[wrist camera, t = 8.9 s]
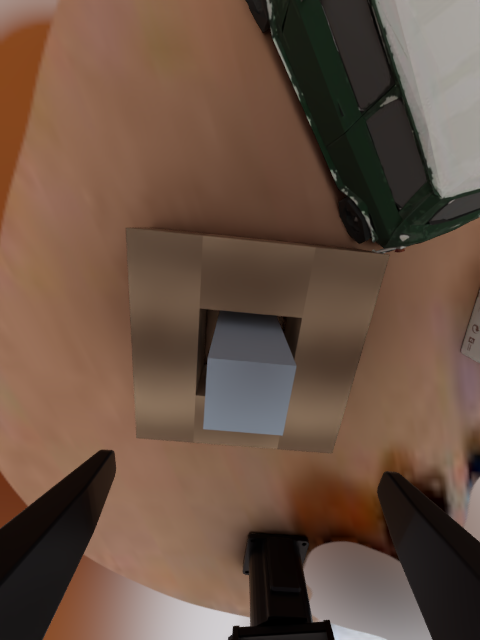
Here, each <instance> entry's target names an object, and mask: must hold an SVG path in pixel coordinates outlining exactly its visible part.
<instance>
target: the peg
mask: <svg viewBox="0 0 480 640" xmlns="http://www.w3.org/2000/svg"><path fill="white" fill-rule="evenodd" d="M295 371H296V363H295V361H294V358H293V356H292V353H291V351H290V348H289V346H288V343H287V341H286V338H285V336H284V333H283V331H282V328H281V326H280V323H279V321H278V318H277V316H275V315H265V314H254V313H243V312H233V311H222V310H220V312H219V316H218V320H217V324H216V328H215V332H214V335H213V339H212V343H211V347H210V351H209V355H208V361H207V377H206V393H205V408H204V424H203V429H208V430H221V431H233V432H245V433H257V434H269V435H281V436H283V432H284V427H285V422H286V417H287V412H288V407H289V402H290V396H291V391H292V386H293V381H294V376H295Z"/></svg>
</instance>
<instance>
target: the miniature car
mask: <svg viewBox="0 0 480 640" xmlns="http://www.w3.org/2000/svg"><path fill="white" fill-rule="evenodd" d="M246 2H247V3H248V6H249V9H250V11H251V13H252V15H253V17H254V19H255V20H256V22H257V24H258V25H259V27H260V28H261V30H262V32H265V31H266V30H268V29H269V28H271V34H272V39H273V41H274V43H275V46H276V48H277V50H278V53H279V55H280V57H281V59H282V62H283V64H284V66H285V69H286V71H287V73H288V75H289V78H290V80H291V82H292V85H293V87H294V89H295V91H296V94H297V96H298V98H299V101H300V103H301V105H302V107H303V110H304V112H305V114H306V116H307V119H308V121H309V123H310V126H311V128H312V130H313V132H314V135H315V137H316V139H317V142H318V144H319V146H320V148H321V151H322V153H323V155H324V158H325V160H326V162H327V164H328V167H329V169H330V171H331V174H332V176H333V178H334V180H335V183H336V185H337V187H338V189H339V190H340V191H341V192H343V193H344V194H345V195H346V196H347V197H346V198H344V199H342V200H341V201H339V213H340V217H341V219H342V222H343V224H344V226H345V228H346V230H347V232H348V234H349V235H350V236H351V237H352V238H353V239H354V240H355V241H356V242H358V243H359V244H360V243H362V242H365V241H367V240H369V239H370V238H372V242H377V243H378V244H379V245H380V246H382V247H383V248H384V249H381V250H379V251H375V250H372V252H377V253H382V254H383V253H386V252H389V251H393V250H395V252H403V251H405V250H404V248H405V247H407V246H410V245H413V244H418V243H422V242H424V241H427V240H430V239H432V238H435V237H437V236H440V235H443V234H445V233H448V232H450V231H453V230H455V229H457V228H459V227H461V226H463V225H464V224H466V223H468V222H470V221H472V220H475V219H477V218H479V217H480V0H246Z"/></svg>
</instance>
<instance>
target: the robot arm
mask: <svg viewBox="0 0 480 640" xmlns="http://www.w3.org/2000/svg"><path fill="white" fill-rule="evenodd" d="M115 473H116V462H115V453H114V451H113V450H100V451H98V452H97V453H96V454H94V455H93V456H92V457H90V458H89V459H88V460H87V461H85V462H84V463H83V464H82V465H80V466H79V467H78V468H77V469H75V470H74V471H73V472H71V473H70V474H69V475H68V476H66V477H65V478H64V479H63V480H61V481H60V482H59V483H57V484H56V485H55V486H54V487H52V488H51V489H50V490H49V491H47V492H46V493H45V494H44V495H42V496H41V497H40V498H38V499H37V500H36V501H35V502H33V503H32V504H31V505H30V506H28V507H27V508H26V509H25V510H23V511H22V512H21V513H19V514H18V515H17V516H16V517H14V518H13V519H12V520H11V521H9V522H8V523H7V524H5V525H4V526H3V527H2V528H0V640H43V638H44V636H45V633H46V631H47V629H48V627H49V625H50V623H51V621H52V619H53V617H54V615H55V613H56V610H57V608H58V606H59V604H60V602H61V600H62V598H63V596H64V593H65V591H66V589H67V587H68V585H69V583H70V581H71V579H72V577H73V574H74V573H75V571H76V568H77V566H78V564H79V562H80V560H81V558H82V556H83V554H84V552H85V550H86V548H87V545H88V543H89V541H90V539H91V537H92V535H93V532H94V530H95V528H96V525H97V522H98V520H99V517H100V514H101V512H102V509H103V506H104V504H105V501H106V498H107V496H108V493H109V490H110V488H111V485H112V482H113V480H114V477H115ZM377 493H378V497H379V501H380V504H381V507H382V510H383V513H384V516H385V519H386V522H387V525H388V528H389V532H390V535H391V538H392V541H393V544H394V547H395V549H396V552H397V555H398V557H399V560H400V562H401V564H402V567H403V569H404V572H405V574H406V577H407V579H408V582H409V584H410V586H411V589H412V591H413V594H414V596H415V598H416V601H417V603H418V606H419V608H420V610H421V612H422V615H423V617H424V620H425V623H426V625H427V627H428V630H429V632H430V635H431V637H432V639H433V640H480V542H479V541H478V540H477V539H475V538H474V537H473V536H472V535H471V534H470V533H468V532H467V531H466V530H465V529H464V528H463V527H461V526H460V525H459V524H458V523H457V522H456V521H454V520H453V519H452V518H451V517H450V516H449V515H447V514H446V513H445V512H444V511H443V510H442V509H440V508H439V507H438V506H437V505H436V504H435V503H433V502H432V501H431V500H430V499H429V498H427V497H426V496H425V495H424V494H423V493H422V492H420V491H419V490H418V489H417V488H416V487H415V486H413V485H412V484H411V483H410V482H409V481H408V480H406V479H405V478H404V477H403V476H402V475H400V474H399V473H397V472H389V471H386V472H384V473H383V476H382V478H381V481H380V483H379V486H378V490H377ZM308 546H309V542H308V539H307V538H306V537H298V536H283V535H268V534H254V533H253V534H249V535H248V539H247V545H246V551H245V557H244V563H243V574H245V575H249V588H250V627H239V626H233V635H231V636H230V637H228V640H335V639H334V635H333V632H332V628H331V624H330V620H323V622H313V621H312V615H311V610H310V604H309V599H308V593H307V588H306V582H305V577H304V571H303V563H304V559H305V556H306V552H307V549H308Z"/></svg>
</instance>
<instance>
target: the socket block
mask: <svg viewBox="0 0 480 640" xmlns="http://www.w3.org/2000/svg"><path fill="white" fill-rule="evenodd" d="M126 242H127V262H128V281H129V301H130V321H131V340H132V360H133V380H134V399H135V419H136V438H141V439H154V440H166V441H179V442H192V443H205V444H217V445H230V446H243V447H256V448H268V449H281V450H294V451H307V452H319V453H333V449H334V446H335V442H336V439H337V435H338V432H339V428H340V425H341V422H342V418H343V415H344V411H345V408H346V404H347V401H348V397H349V394H350V390H351V387H352V383H353V380H354V377H355V373H356V370H357V366H358V363H359V359H360V356H361V352H362V349H363V345H364V342H365V338H366V335H367V332H368V328H369V325H370V321H371V318H372V314H373V311H374V307H375V304H376V300H377V297H378V294H379V290H380V287H381V283H382V280H383V276H384V273H385V269H386V266H387V262H388V259H389V255H388V254H382V253H377V252H371V251H366V250H360V249H353V248H343V247H333V246H324V245H314V244H304V243H295V242H285V241H275V240H265V239H256V238H246V237H236V236H227V235H217V234H207V233H197V232H188V231H178V230H168V229H159V228H126ZM207 309H212V310H222V311H233V312H243V313H254V314H265V315H275V316H286V317H287V320H286V326H285V332H284V336H285V338H286V341H287V343H288V346H289V348H290V351H291V353H292V356H293V358H294V361H295V363H296V371H295V376H294V381H293V386H292V391H291V396H290V402H289V407H288V412H287V417H286V422H285V427H284V432H283V436H281V435H269V434H257V433H245V432H233V431H221V430H208V429H203V424H204V408H205V393H206V377H207V365H204V353H205V335H206V317H207Z"/></svg>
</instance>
